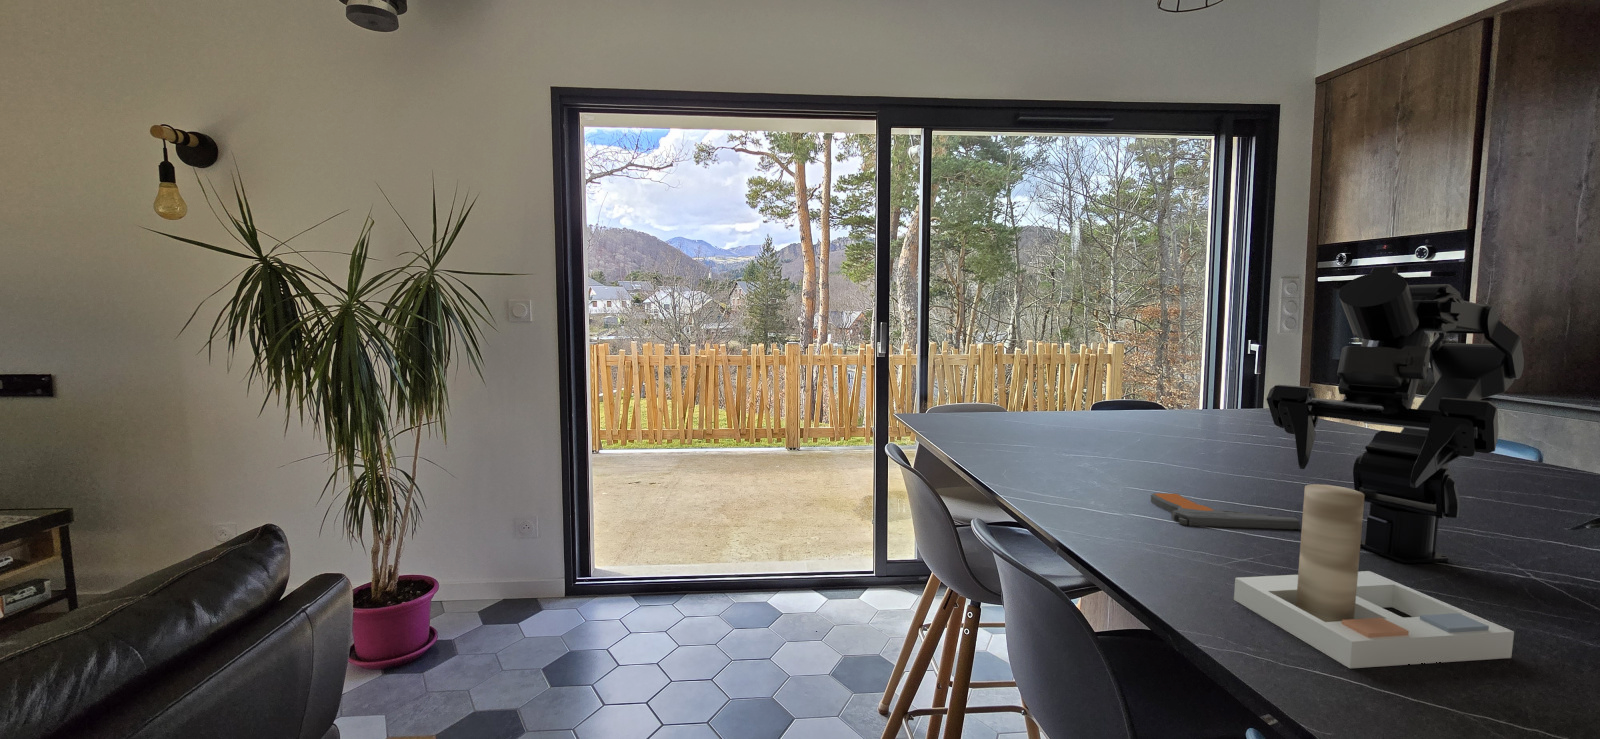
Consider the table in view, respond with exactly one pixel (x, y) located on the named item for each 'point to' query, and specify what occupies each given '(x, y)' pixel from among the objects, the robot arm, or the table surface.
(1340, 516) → the plug
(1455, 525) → the table surface
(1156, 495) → the orange-tipped hinged bar
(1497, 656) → the socket board
